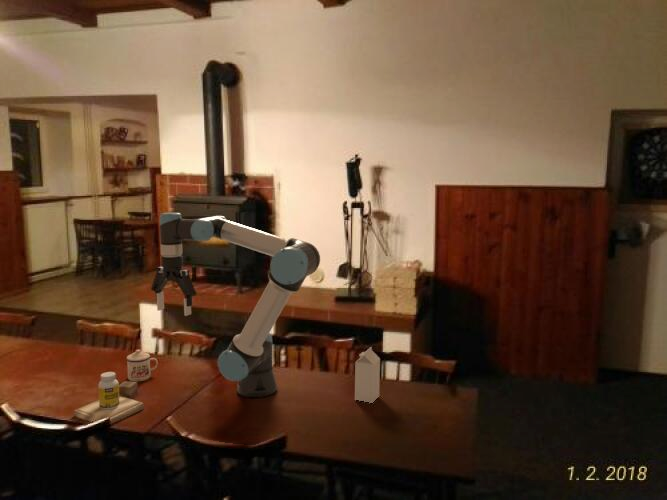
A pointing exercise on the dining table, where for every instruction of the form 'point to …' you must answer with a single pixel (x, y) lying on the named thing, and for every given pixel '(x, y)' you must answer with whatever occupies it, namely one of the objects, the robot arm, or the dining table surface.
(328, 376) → the dining table surface
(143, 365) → the teacup with lid
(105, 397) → the pill bottle
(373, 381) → the milk carton
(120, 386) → the walnut cube
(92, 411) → the beech board
